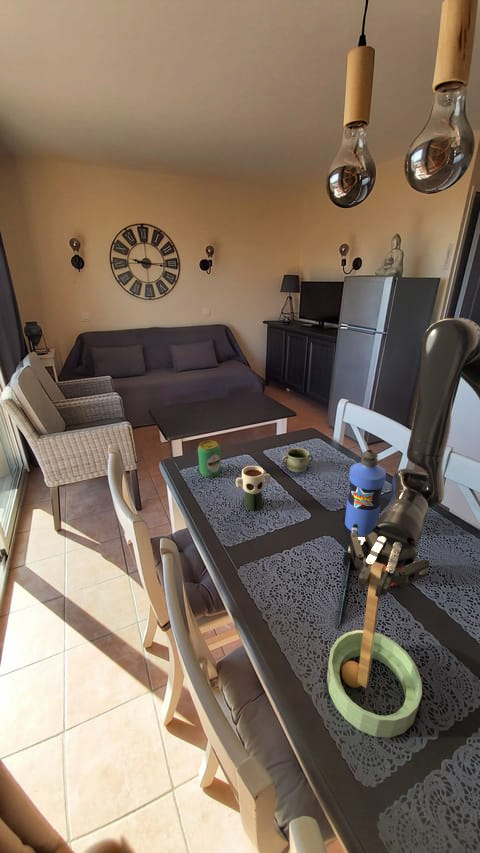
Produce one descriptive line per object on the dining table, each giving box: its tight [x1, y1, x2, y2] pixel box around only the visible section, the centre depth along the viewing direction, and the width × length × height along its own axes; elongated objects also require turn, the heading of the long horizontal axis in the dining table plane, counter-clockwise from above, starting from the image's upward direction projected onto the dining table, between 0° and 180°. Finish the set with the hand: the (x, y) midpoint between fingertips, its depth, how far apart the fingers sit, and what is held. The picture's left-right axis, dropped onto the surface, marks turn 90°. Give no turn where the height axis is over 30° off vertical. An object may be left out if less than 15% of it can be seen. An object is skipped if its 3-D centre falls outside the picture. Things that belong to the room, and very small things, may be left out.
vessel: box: [281, 447, 314, 473], centre depth 138 cm, size 12×9×6 cm
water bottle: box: [344, 449, 387, 536], centre depth 102 cm, size 9×9×25 cm
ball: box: [341, 660, 362, 689], centre depth 66 cm, size 4×4×4 cm
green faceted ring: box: [326, 629, 423, 738], centre depth 64 cm, size 15×15×6 cm
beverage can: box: [197, 440, 222, 479], centre depth 134 cm, size 8×8×12 cm
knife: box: [338, 524, 359, 626], centre depth 88 cm, size 31×3×4 cm, turn 155°
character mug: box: [235, 465, 271, 511], centre depth 115 cm, size 11×7×13 cm, turn 101°
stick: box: [357, 561, 384, 689], centre depth 59 cm, size 2×2×24 cm
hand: (370, 589), depth 54 cm, fingers closed on stick, 1 cm apart
